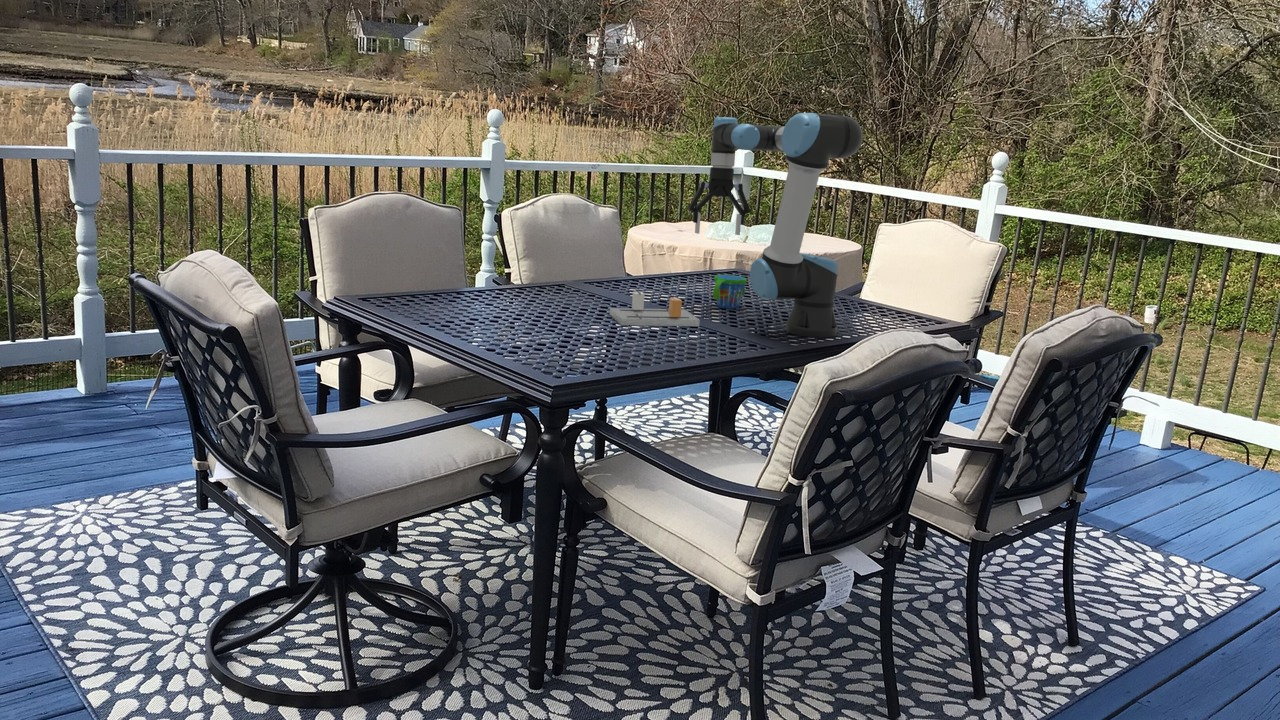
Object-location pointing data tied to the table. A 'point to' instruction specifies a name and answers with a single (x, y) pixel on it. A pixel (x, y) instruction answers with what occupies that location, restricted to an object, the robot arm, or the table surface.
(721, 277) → the snack cup
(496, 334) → the table surface
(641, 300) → the block
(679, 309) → the block
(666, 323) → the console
